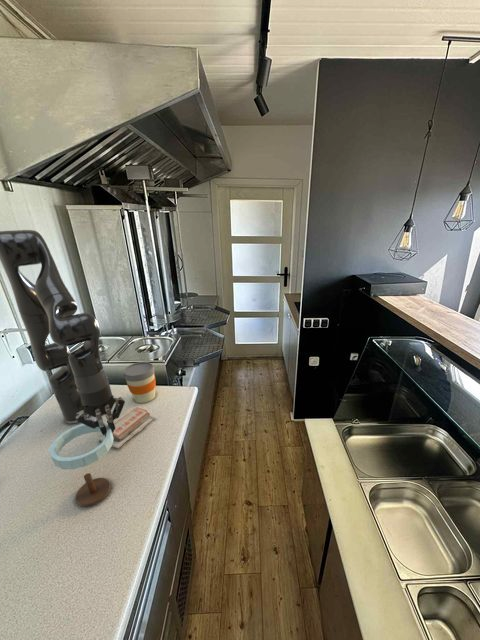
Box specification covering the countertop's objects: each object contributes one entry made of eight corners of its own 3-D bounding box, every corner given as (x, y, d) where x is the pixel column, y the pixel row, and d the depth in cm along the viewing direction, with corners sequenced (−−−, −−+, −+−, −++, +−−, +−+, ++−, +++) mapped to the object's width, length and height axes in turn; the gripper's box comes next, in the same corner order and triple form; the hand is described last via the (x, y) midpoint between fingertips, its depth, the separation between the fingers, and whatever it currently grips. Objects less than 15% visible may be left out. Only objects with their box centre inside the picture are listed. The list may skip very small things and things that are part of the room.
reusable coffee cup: (127, 395, 132) (119, 367, 126) (154, 386, 139) (148, 359, 132) (134, 408, 123) (126, 379, 116) (163, 398, 130) (157, 369, 123)
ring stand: (73, 492, 87) (65, 475, 83) (105, 475, 92) (98, 458, 89) (81, 513, 81) (73, 495, 77) (114, 493, 86) (108, 475, 83)
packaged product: (134, 403, 118) (152, 409, 114) (136, 413, 120) (154, 419, 117) (95, 431, 104) (114, 439, 100) (99, 441, 106) (118, 449, 102)
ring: (48, 447, 83) (44, 439, 82) (104, 423, 92) (101, 415, 91) (60, 479, 73) (56, 470, 72) (120, 448, 82) (118, 440, 81)
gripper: (114, 370, 85) (127, 416, 93) (61, 388, 77) (80, 437, 85) (123, 380, 80) (136, 428, 88) (68, 400, 72) (87, 451, 80)
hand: (108, 432), depth 86 cm, fingers closed on ring, 1 cm apart
